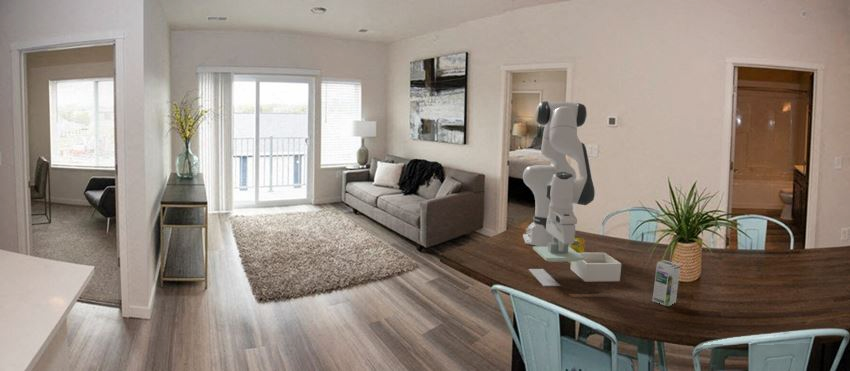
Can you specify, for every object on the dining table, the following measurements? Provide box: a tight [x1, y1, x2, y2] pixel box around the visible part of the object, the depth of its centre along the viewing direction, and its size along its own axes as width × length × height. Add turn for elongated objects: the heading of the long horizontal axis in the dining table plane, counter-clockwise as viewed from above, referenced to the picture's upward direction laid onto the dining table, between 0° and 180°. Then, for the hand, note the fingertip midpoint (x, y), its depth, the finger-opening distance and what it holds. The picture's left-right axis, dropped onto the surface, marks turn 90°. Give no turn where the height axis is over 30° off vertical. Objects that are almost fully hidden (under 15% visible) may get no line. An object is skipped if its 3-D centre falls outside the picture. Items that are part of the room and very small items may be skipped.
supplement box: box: [568, 237, 586, 265], centre depth 206 cm, size 6×6×11 cm
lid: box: [532, 242, 584, 263], centre depth 187 cm, size 15×15×6 cm
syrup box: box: [651, 259, 682, 307], centre depth 167 cm, size 6×6×14 cm
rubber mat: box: [528, 268, 562, 287], centre depth 190 cm, size 18×16×1 cm
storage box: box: [570, 251, 622, 283], centre depth 191 cm, size 14×14×8 cm
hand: (557, 249), depth 187 cm, fingers closed on lid, 3 cm apart
